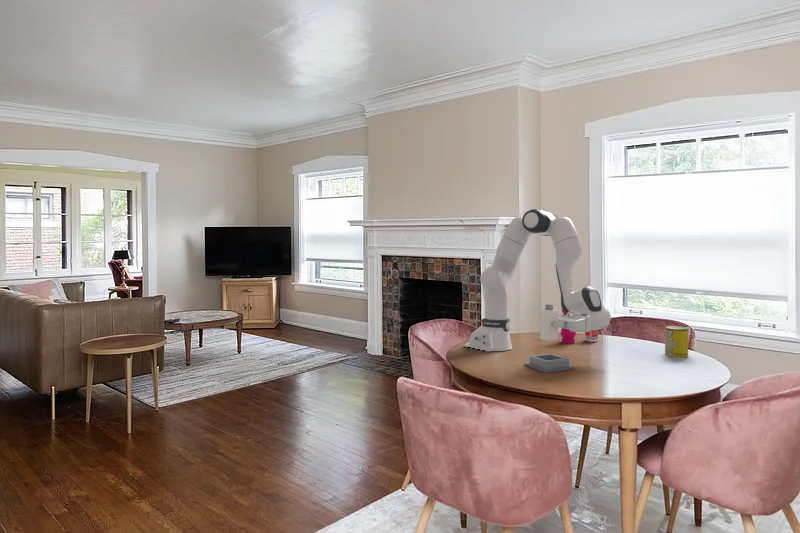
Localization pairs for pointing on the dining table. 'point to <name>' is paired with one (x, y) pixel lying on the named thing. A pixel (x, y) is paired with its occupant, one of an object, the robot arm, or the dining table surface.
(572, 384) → the dining table surface
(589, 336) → the pill bottle
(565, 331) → the pepper mill
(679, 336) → the yellow tin can
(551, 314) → the spigot peg
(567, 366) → the socket dock
